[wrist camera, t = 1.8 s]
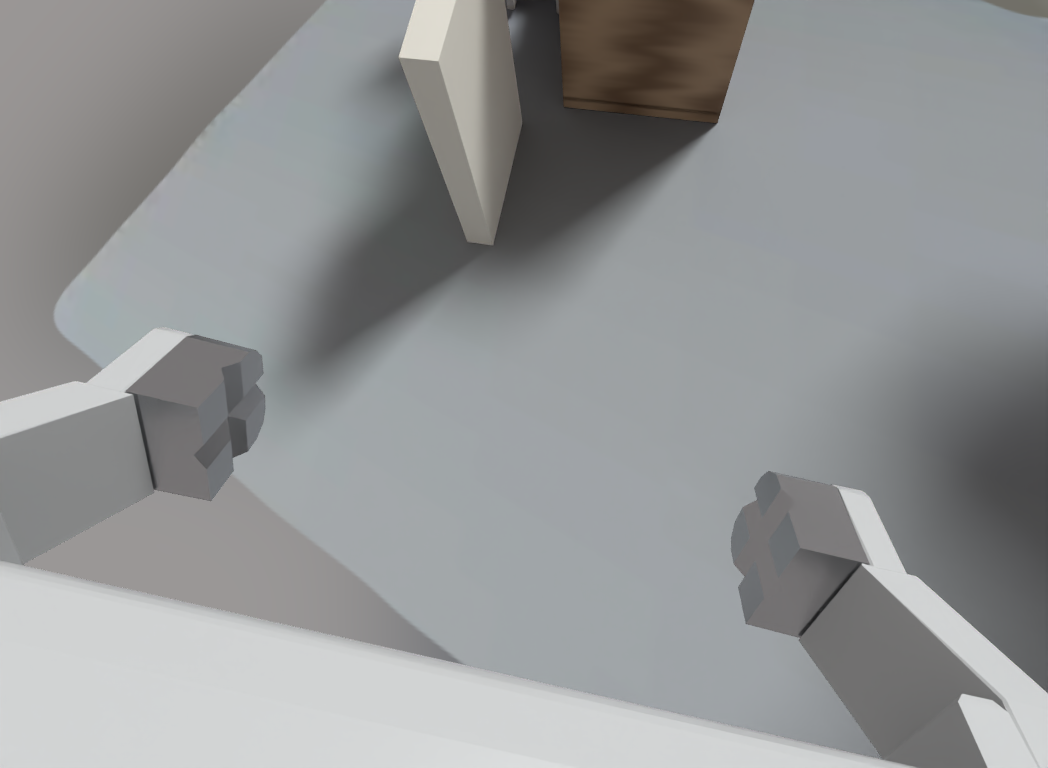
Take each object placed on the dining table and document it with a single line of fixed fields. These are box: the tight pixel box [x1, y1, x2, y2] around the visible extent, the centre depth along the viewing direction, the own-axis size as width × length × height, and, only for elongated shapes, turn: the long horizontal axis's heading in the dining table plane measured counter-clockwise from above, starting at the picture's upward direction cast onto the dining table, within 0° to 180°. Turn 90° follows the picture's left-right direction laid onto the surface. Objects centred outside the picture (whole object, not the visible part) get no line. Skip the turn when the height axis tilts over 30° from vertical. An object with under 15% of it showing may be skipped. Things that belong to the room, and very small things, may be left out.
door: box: [399, 0, 523, 246], centre depth 39 cm, size 2×11×18 cm, turn 168°
